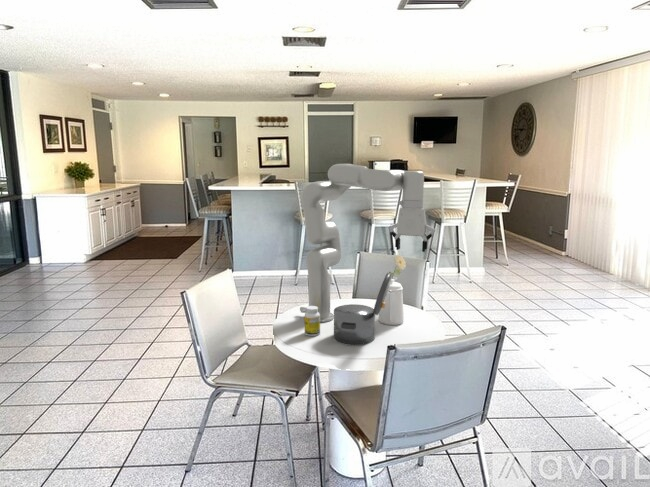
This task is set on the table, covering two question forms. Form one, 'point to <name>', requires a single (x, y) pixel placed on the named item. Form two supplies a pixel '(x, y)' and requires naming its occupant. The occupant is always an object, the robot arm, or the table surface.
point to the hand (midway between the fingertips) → (410, 250)
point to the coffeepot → (392, 305)
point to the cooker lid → (382, 294)
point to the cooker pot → (354, 324)
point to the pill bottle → (312, 321)
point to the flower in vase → (398, 265)
